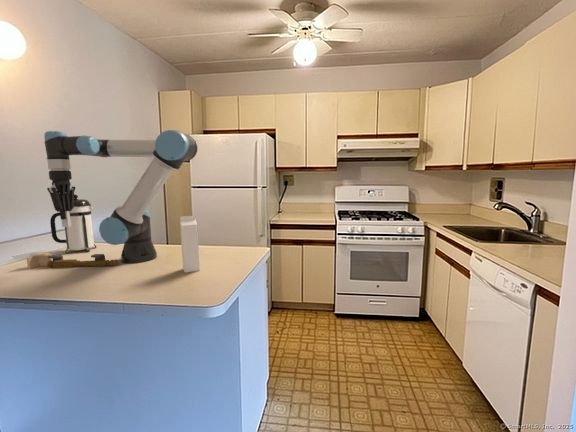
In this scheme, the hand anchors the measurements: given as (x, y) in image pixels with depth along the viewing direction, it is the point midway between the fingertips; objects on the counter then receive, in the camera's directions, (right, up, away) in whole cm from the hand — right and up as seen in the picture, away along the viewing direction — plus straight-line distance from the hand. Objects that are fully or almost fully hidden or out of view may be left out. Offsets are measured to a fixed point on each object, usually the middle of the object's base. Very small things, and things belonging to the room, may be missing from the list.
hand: (66, 226), depth 132 cm
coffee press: (-18, -14, +34) cm, 41 cm away
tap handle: (+4, -18, +5) cm, 19 cm away
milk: (+54, -18, -5) cm, 57 cm away
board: (-2, -17, +6) cm, 19 cm away
